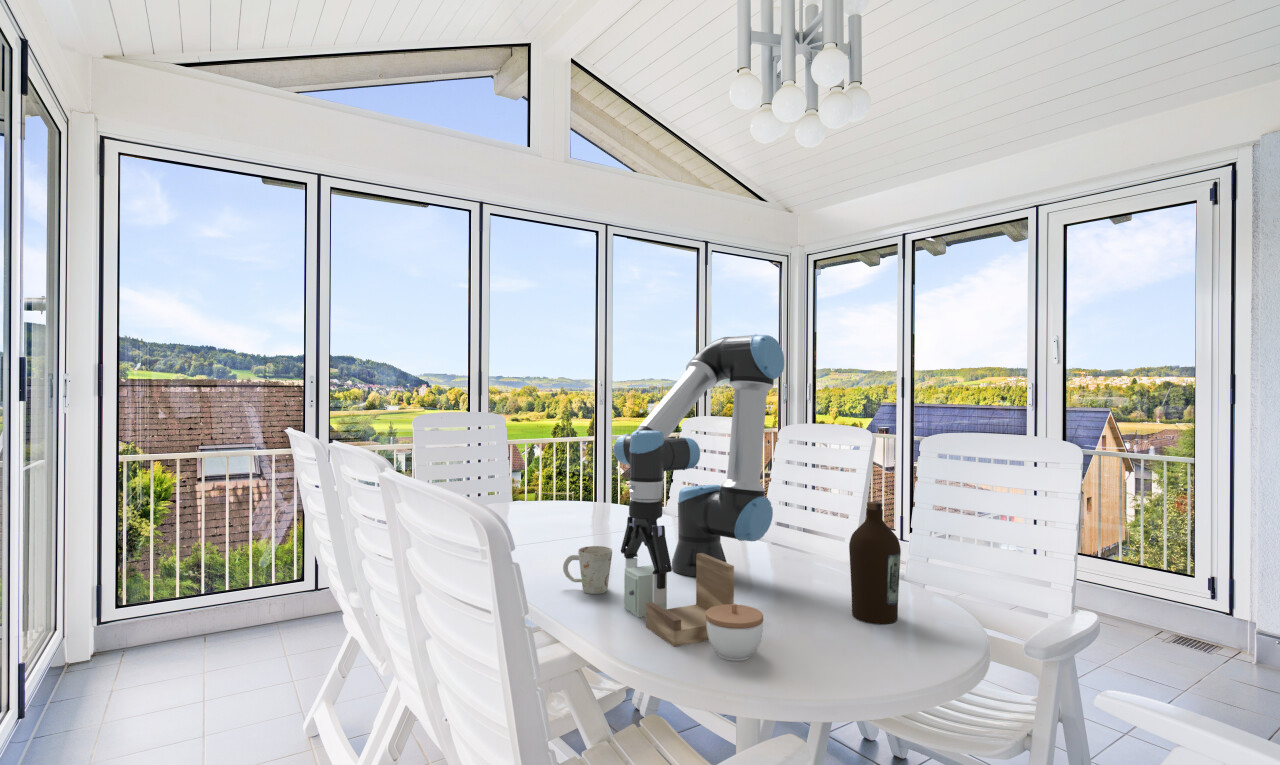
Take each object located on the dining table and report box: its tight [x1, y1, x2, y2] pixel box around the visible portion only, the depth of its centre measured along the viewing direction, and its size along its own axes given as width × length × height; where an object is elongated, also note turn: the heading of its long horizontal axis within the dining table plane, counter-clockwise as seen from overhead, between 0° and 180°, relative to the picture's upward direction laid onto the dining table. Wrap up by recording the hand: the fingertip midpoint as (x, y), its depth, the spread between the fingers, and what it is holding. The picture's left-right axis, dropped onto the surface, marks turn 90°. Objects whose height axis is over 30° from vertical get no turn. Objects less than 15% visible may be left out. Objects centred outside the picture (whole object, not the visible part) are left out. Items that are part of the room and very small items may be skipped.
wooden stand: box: [645, 553, 735, 648], centre depth 137 cm, size 14×12×14 cm
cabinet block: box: [623, 564, 668, 618], centre depth 150 cm, size 8×7×9 cm
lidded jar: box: [706, 603, 764, 662], centre depth 125 cm, size 11×11×9 cm
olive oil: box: [848, 501, 902, 625], centre depth 146 cm, size 11×11×25 cm
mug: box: [562, 545, 613, 595], centre depth 165 cm, size 8×13×10 cm, turn 78°
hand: (644, 594), depth 150 cm, fingers open, 13 cm apart
